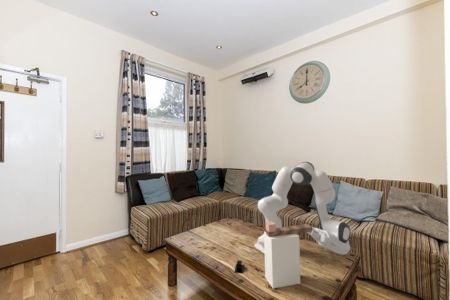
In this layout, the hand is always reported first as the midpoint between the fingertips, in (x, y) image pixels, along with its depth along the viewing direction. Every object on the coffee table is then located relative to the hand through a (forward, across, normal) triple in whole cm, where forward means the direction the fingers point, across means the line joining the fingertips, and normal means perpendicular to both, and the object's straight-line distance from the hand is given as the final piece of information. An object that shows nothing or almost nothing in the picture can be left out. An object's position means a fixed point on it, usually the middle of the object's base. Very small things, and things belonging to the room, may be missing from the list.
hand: (306, 229), depth 120 cm
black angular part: (+16, +17, -42) cm, 48 cm away
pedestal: (0, 0, -31) cm, 31 cm away
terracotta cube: (+19, 0, -9) cm, 22 cm away
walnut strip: (+9, 0, -6) cm, 10 cm away
